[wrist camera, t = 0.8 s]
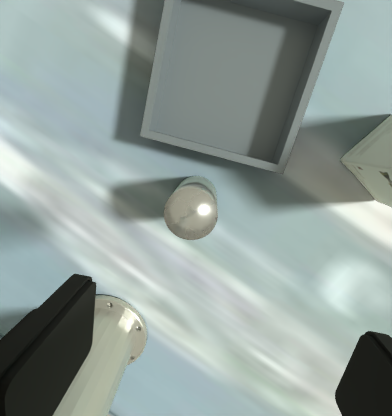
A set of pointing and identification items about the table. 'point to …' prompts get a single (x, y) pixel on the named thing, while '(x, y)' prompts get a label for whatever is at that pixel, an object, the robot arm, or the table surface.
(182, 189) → the tin can
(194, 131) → the tray
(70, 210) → the table surface
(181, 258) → the table surface
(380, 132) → the supplement box
